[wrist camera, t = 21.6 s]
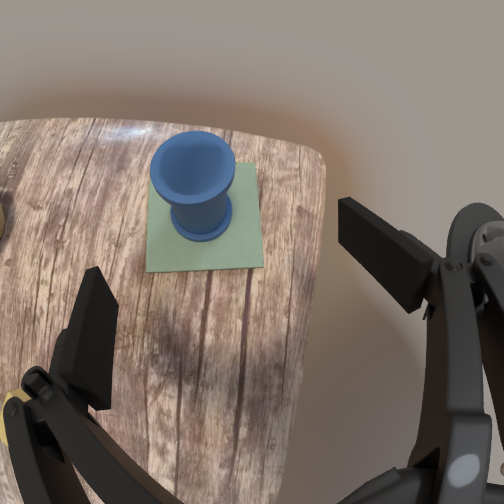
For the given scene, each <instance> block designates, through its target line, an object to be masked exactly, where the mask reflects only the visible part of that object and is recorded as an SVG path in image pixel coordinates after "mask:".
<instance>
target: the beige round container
mask: <svg viewBox="0 0 504 504" xmlns="http://www.w3.org/2000/svg"><path fill="white" fill-rule="evenodd" d="M4 227H5V217H4V213H3V209H2V207H1V204H0V238H1V236H2V234H3V231H4Z"/></svg>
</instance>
